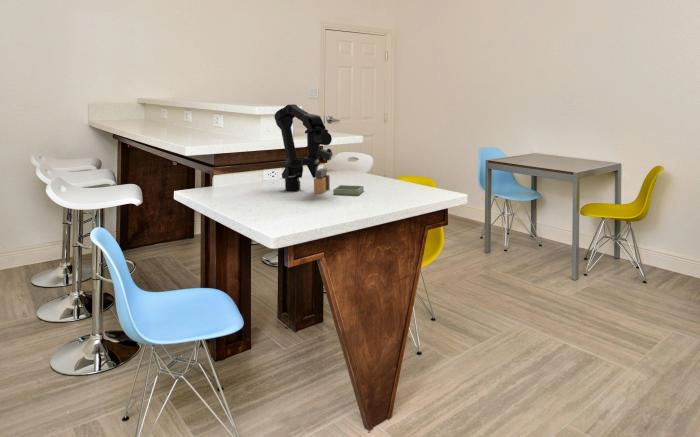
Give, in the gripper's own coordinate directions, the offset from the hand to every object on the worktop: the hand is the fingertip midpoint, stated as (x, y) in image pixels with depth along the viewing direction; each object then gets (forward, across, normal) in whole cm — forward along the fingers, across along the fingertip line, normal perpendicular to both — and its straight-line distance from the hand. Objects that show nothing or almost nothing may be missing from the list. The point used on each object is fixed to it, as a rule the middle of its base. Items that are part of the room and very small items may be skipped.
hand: (314, 177), depth 245 cm
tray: (+8, +10, -14) cm, 19 cm away
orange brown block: (+9, +9, 0) cm, 12 cm away
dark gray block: (+1, +11, 0) cm, 11 cm away
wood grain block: (+8, +17, 0) cm, 19 cm away
